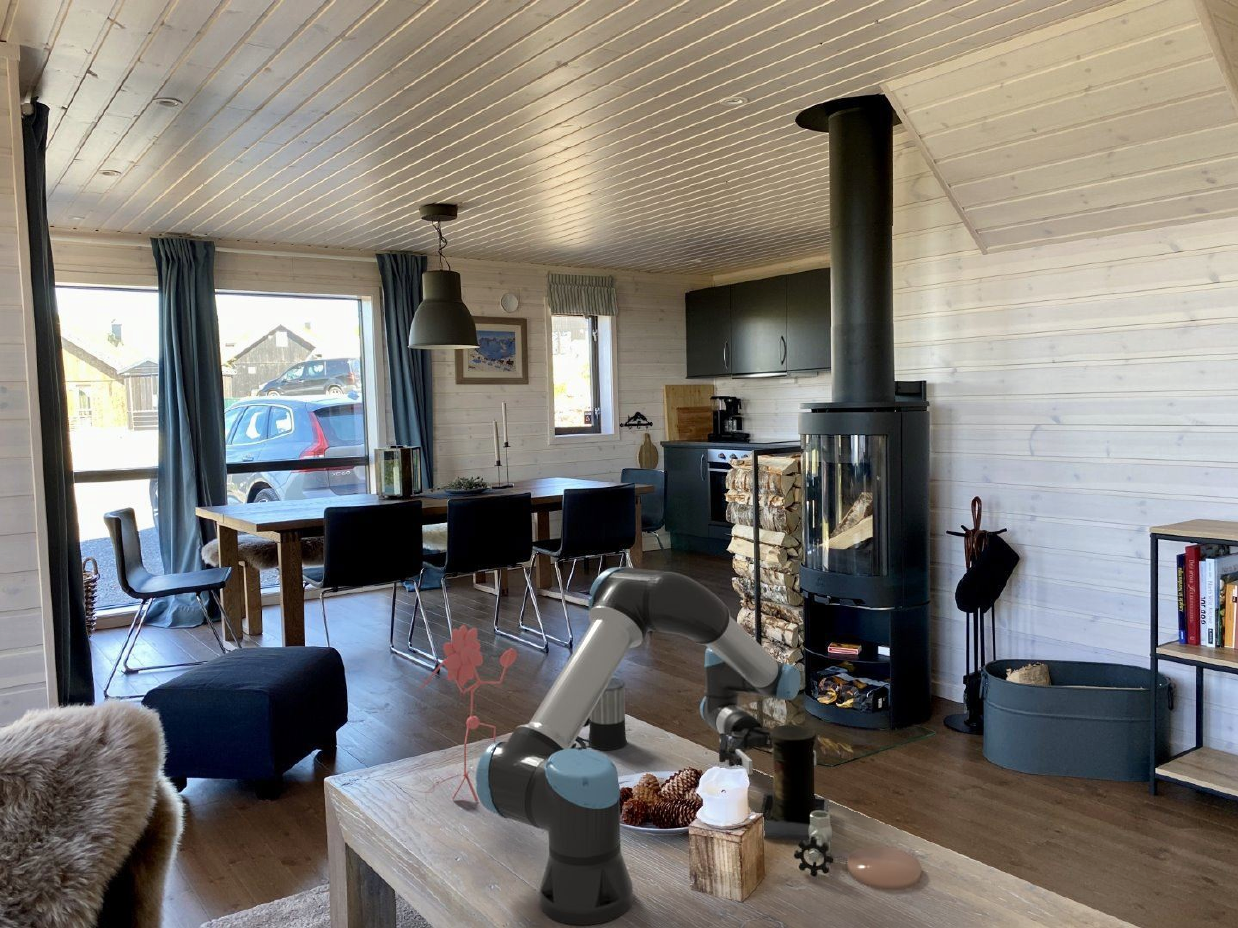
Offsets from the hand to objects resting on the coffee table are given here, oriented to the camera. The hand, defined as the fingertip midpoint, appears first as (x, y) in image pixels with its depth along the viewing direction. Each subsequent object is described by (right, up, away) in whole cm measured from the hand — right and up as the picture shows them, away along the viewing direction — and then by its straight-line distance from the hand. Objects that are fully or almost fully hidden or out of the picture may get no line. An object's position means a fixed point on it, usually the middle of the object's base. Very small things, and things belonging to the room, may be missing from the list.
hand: (783, 763), depth 182 cm
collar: (+1, -10, -5) cm, 11 cm away
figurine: (-64, -11, +17) cm, 67 cm away
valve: (+3, -11, -19) cm, 22 cm away
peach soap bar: (+13, -11, -24) cm, 29 cm away
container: (+1, -10, -5) cm, 11 cm away
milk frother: (-38, -9, +39) cm, 55 cm away
